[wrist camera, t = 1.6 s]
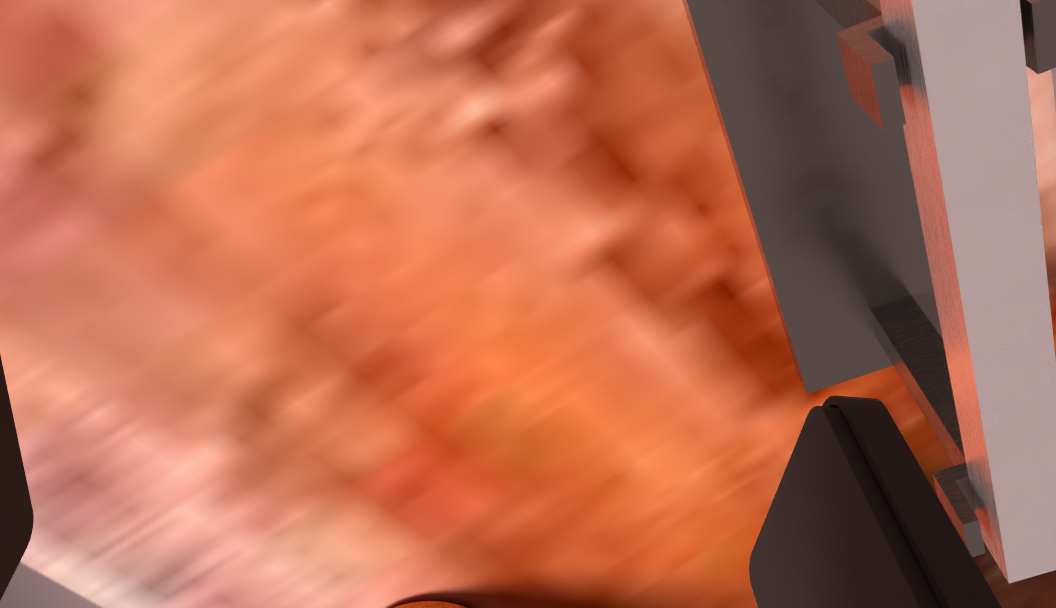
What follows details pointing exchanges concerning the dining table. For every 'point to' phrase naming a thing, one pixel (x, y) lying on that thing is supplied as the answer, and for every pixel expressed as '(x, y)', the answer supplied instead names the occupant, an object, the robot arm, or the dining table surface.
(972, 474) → the rail
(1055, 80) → the board
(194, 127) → the dining table surface
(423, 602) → the wine bottle
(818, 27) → the rack
